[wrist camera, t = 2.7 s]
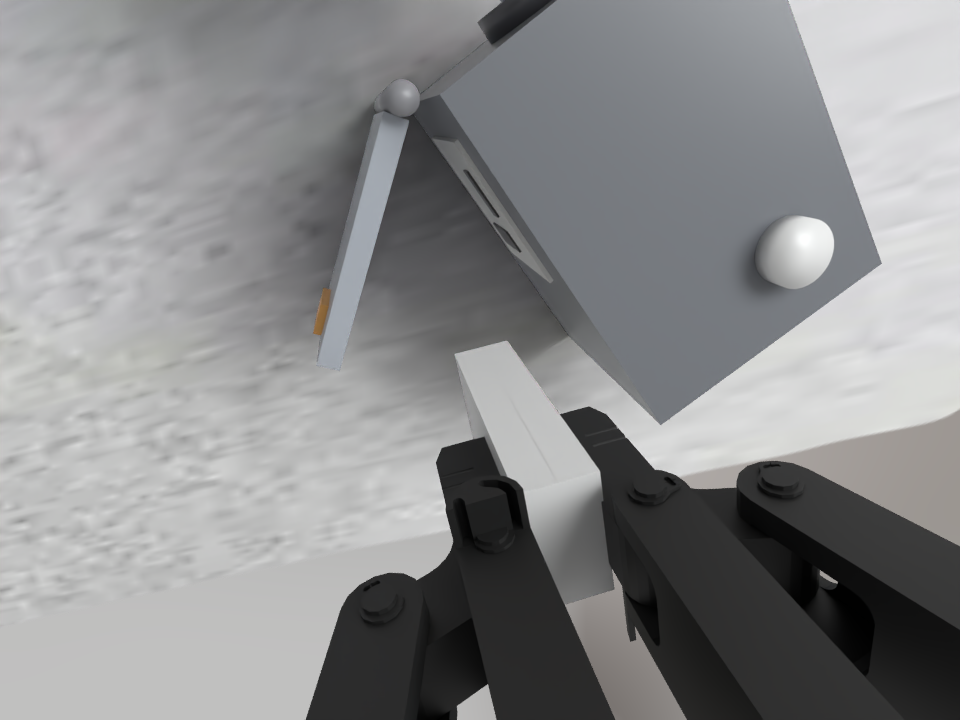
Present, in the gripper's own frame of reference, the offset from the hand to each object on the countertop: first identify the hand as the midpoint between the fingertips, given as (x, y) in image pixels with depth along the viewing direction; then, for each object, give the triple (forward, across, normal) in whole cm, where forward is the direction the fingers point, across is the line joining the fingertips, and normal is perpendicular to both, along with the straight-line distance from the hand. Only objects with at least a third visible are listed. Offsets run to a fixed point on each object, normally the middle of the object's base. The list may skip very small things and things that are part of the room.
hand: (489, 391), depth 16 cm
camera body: (+13, +8, +4) cm, 16 cm away
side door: (+13, -3, +4) cm, 14 cm away
